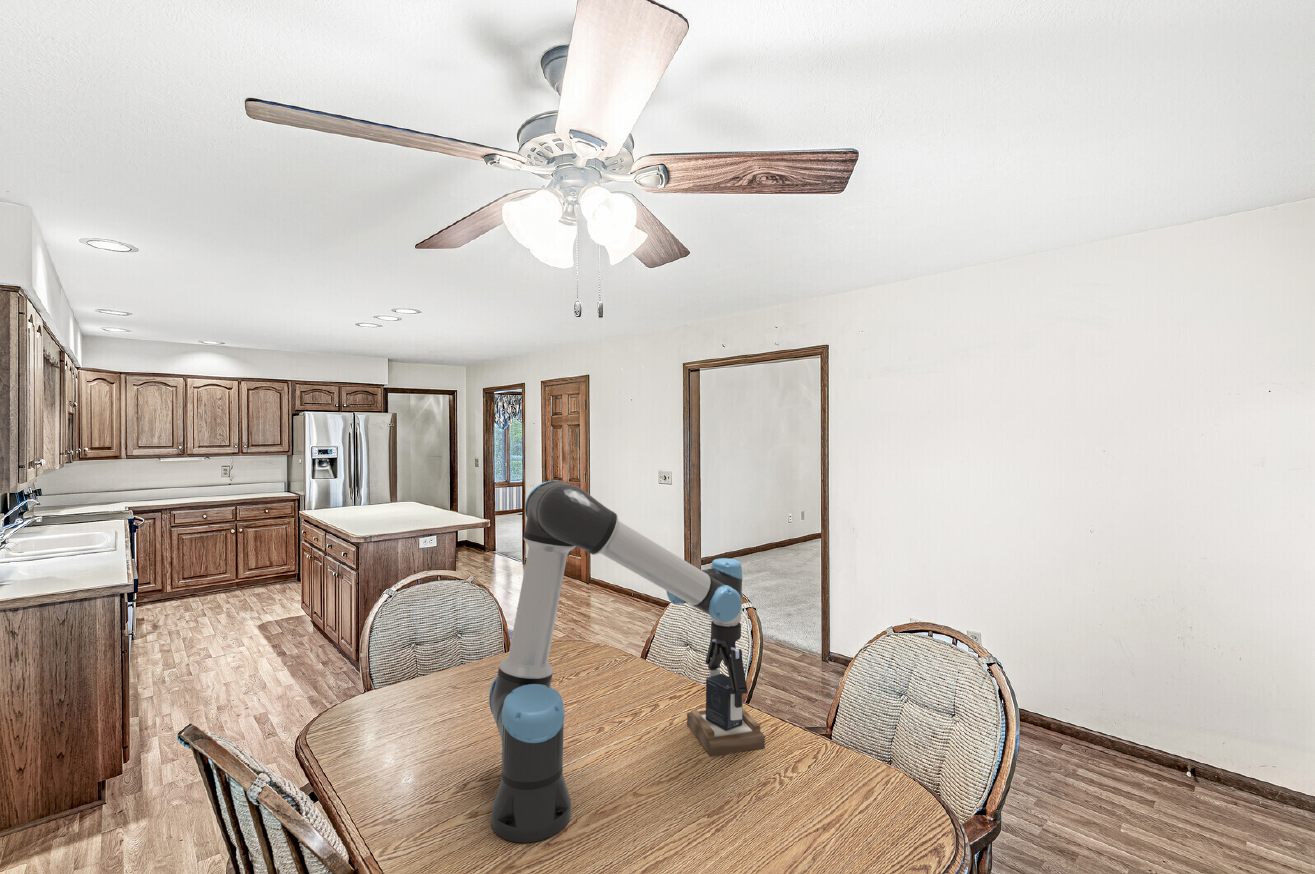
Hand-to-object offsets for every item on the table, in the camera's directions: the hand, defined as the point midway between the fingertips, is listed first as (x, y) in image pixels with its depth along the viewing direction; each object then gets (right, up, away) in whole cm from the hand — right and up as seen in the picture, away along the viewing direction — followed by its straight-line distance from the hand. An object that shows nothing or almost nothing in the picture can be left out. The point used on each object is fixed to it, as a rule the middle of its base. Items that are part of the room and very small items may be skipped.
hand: (724, 706), depth 147 cm
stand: (0, -7, 0) cm, 7 cm away
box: (0, -4, 0) cm, 4 cm away
